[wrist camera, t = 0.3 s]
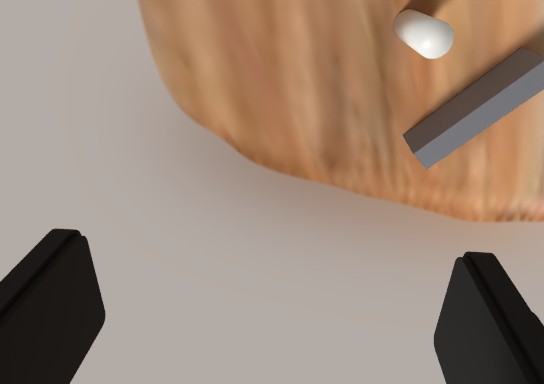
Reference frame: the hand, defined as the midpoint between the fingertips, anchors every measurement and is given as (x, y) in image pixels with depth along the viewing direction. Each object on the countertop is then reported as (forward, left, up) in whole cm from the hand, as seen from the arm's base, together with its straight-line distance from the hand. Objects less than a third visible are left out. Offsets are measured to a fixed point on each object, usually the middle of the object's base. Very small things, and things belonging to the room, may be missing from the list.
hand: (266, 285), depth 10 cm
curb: (+4, +15, -30) cm, 34 cm away
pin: (-3, +10, -30) cm, 32 cm away
